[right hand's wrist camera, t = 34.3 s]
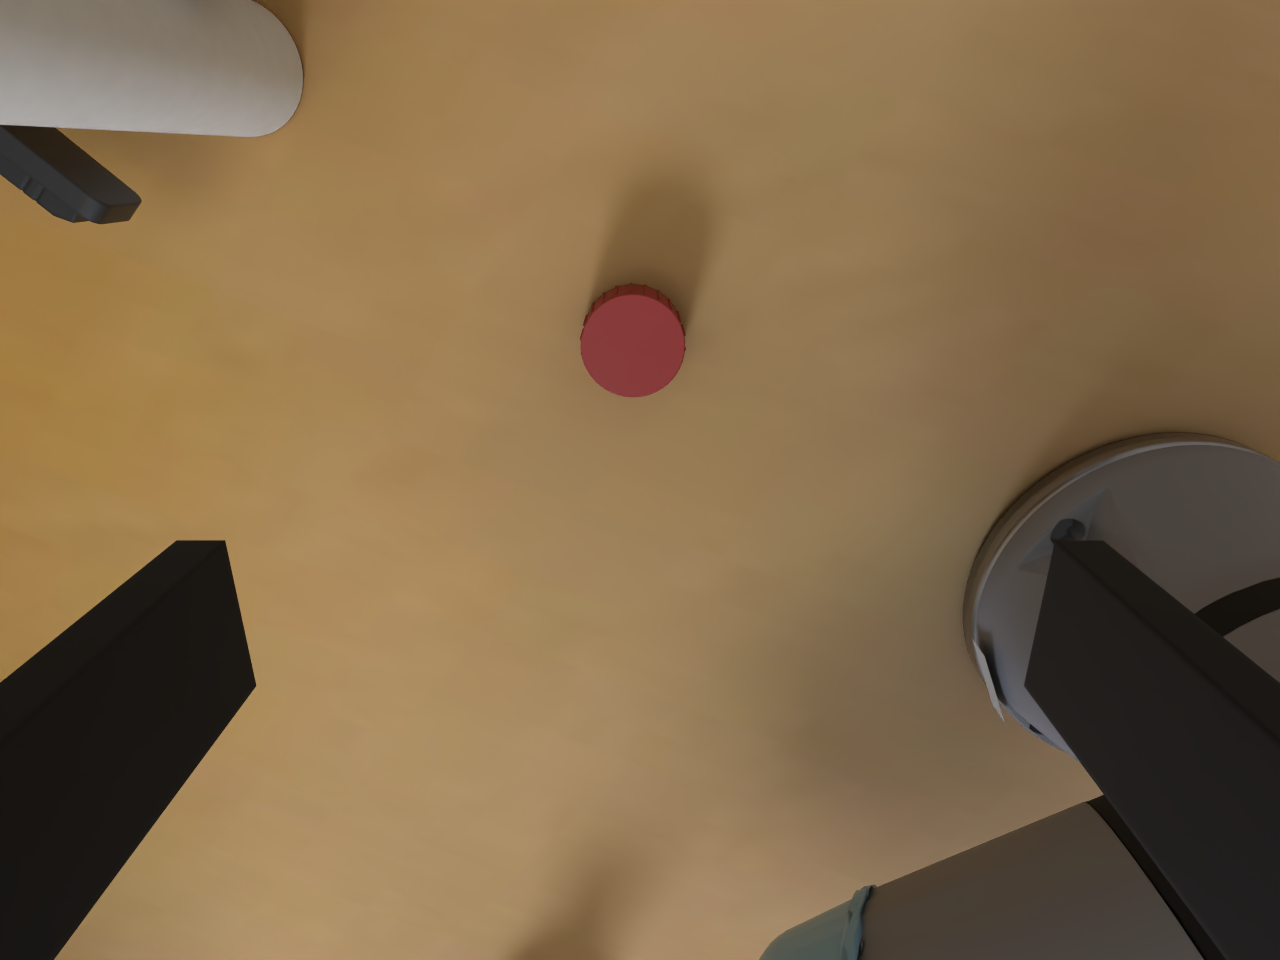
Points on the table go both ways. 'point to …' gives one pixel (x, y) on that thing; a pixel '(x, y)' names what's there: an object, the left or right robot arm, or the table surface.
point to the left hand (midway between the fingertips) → (195, 97)
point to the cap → (632, 341)
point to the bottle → (147, 66)
